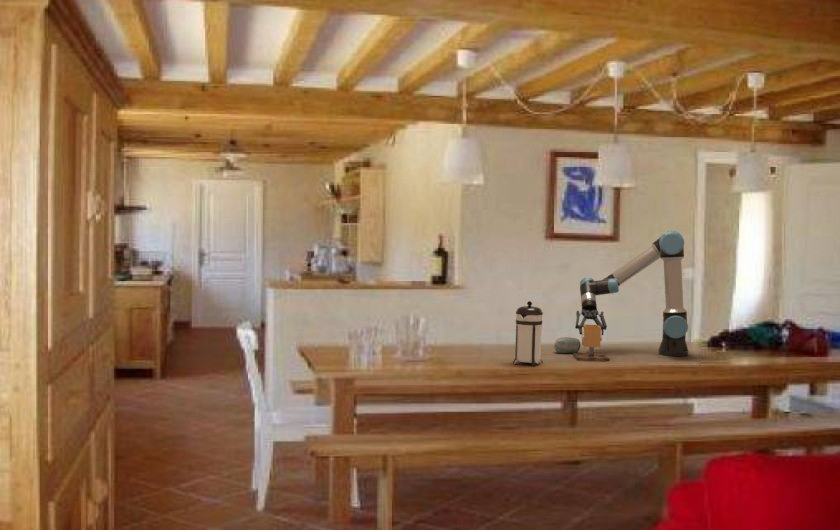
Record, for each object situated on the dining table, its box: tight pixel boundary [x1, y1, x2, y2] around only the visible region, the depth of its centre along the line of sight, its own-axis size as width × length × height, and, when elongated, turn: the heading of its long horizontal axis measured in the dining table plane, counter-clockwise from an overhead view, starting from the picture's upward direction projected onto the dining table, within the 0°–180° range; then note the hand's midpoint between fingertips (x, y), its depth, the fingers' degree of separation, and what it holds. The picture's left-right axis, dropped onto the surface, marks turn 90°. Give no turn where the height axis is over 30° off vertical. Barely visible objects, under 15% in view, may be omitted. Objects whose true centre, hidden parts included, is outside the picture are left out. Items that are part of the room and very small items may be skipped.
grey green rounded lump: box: [553, 336, 581, 354], centre depth 465 cm, size 14×10×10 cm
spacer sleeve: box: [581, 324, 601, 348], centre depth 447 cm, size 8×8×10 cm
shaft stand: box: [573, 347, 611, 362], centre depth 447 cm, size 16×14×8 cm
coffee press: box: [512, 300, 544, 367], centre depth 427 cm, size 17×16×30 cm
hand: (592, 339), depth 444 cm, fingers closed on spacer sleeve, 8 cm apart
